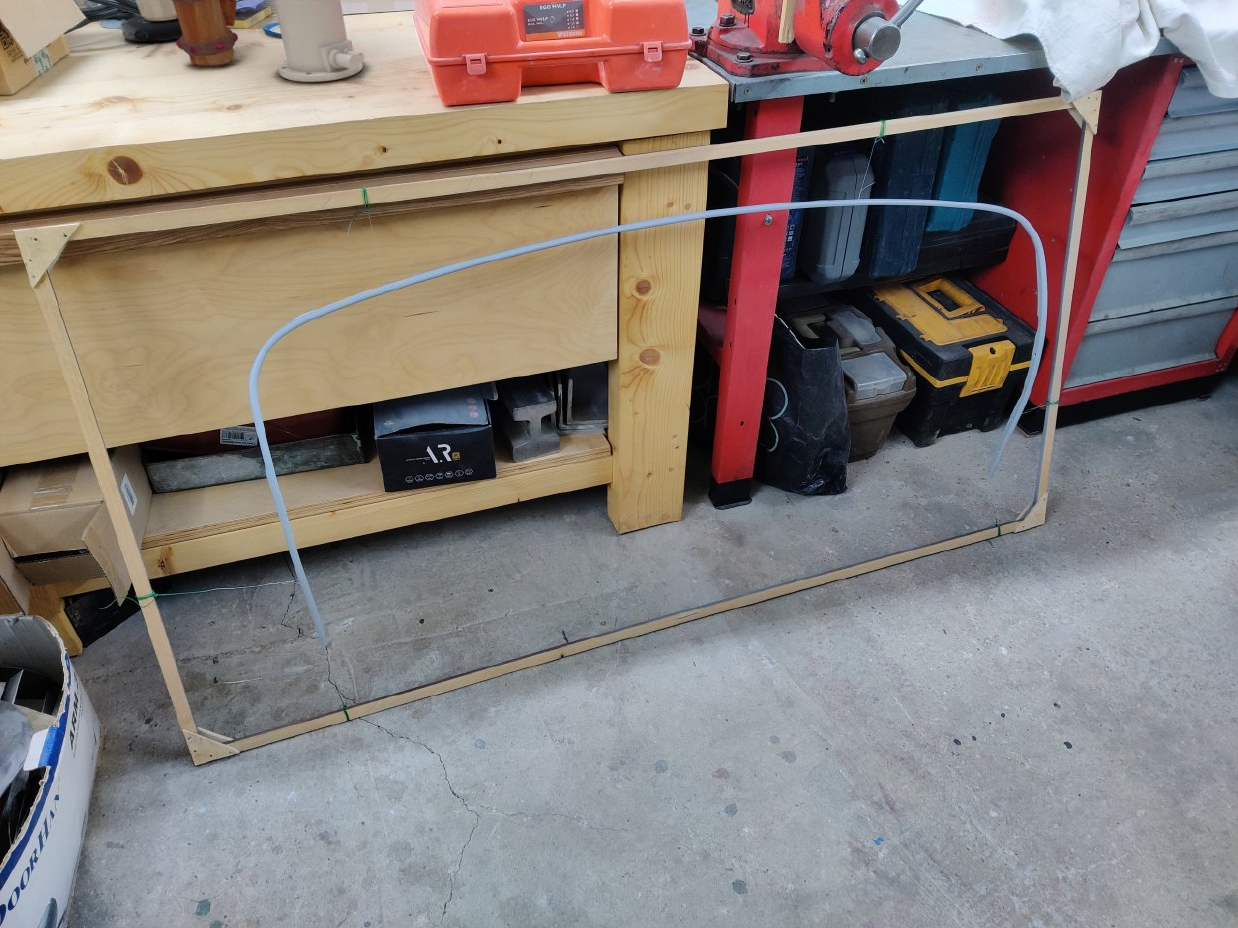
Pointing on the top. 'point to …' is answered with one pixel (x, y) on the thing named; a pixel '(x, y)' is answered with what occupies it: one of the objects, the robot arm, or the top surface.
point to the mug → (207, 30)
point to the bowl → (157, 10)
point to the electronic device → (151, 29)
